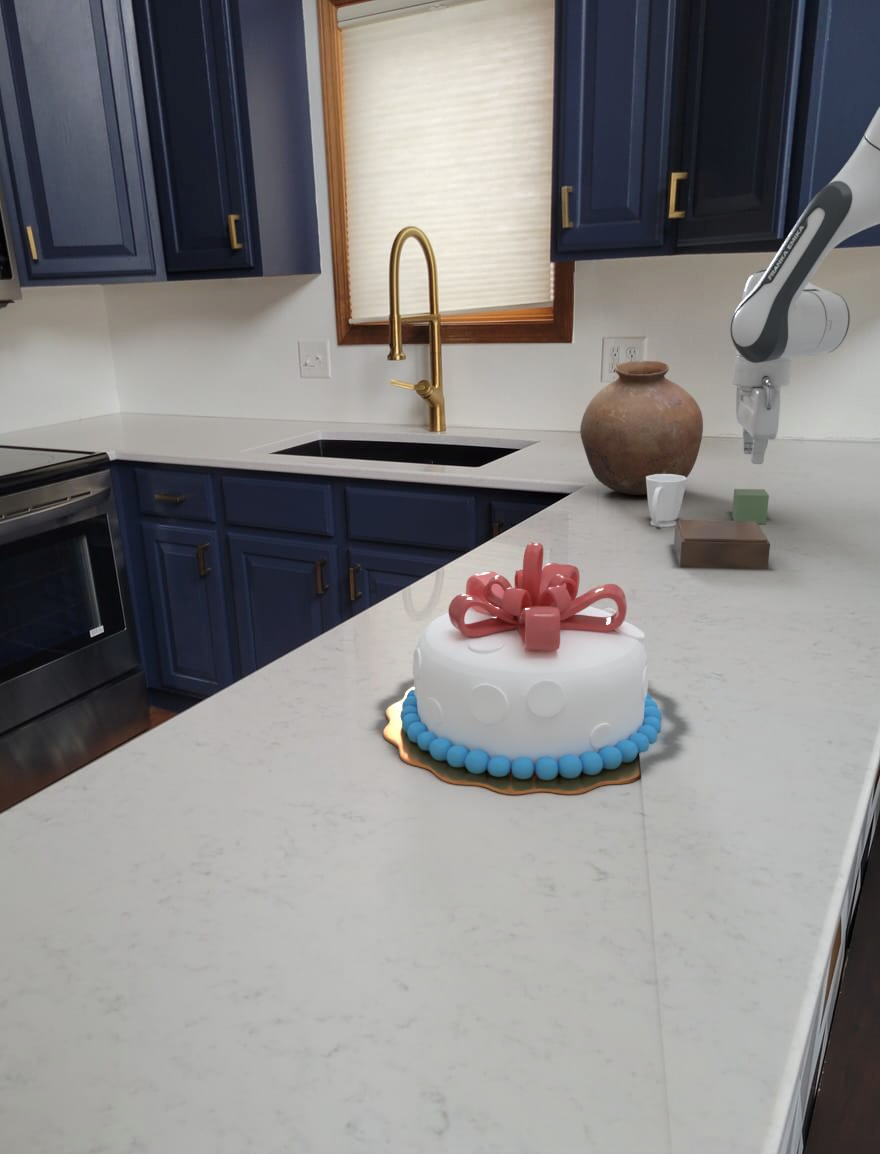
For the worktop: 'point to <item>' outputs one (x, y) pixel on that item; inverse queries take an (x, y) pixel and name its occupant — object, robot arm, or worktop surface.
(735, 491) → the block
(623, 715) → the wedding cake
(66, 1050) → the worktop surface
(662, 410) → the pottery
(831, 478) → the worktop surface
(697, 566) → the block
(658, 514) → the cup
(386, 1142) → the worktop surface
